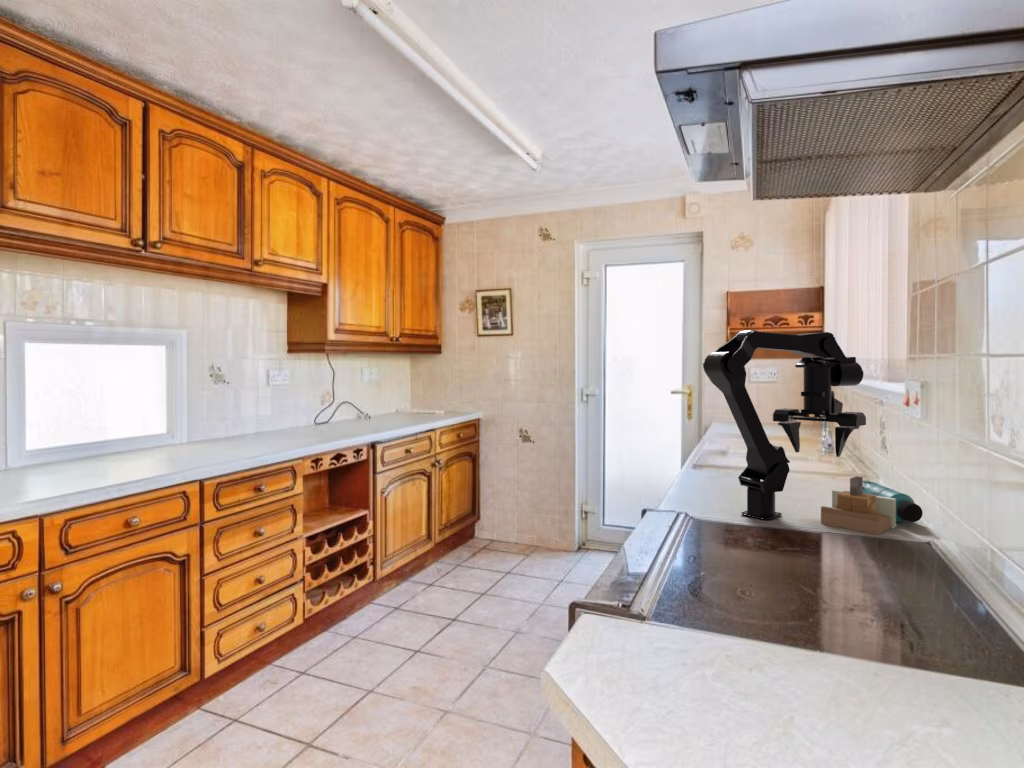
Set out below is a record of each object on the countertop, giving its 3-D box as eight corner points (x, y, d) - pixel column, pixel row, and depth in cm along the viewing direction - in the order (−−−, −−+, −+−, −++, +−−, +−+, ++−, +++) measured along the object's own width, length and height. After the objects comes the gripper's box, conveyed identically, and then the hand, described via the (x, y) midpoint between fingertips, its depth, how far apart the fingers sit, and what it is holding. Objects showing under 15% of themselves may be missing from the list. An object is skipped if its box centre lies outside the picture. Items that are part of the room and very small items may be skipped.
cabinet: (867, 517, 120) (867, 481, 120) (836, 512, 125) (836, 477, 124) (875, 514, 122) (875, 478, 122) (845, 508, 127) (845, 474, 127)
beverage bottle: (880, 490, 140) (937, 511, 120) (860, 511, 140) (915, 535, 120) (859, 472, 140) (913, 490, 120) (840, 493, 140) (891, 514, 120)
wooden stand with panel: (880, 535, 116) (880, 505, 116) (818, 522, 126) (818, 494, 126) (895, 527, 121) (896, 498, 121) (835, 516, 131) (835, 489, 131)
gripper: (876, 386, 133) (875, 455, 133) (794, 384, 147) (794, 446, 148) (855, 388, 126) (855, 460, 126) (771, 386, 141) (771, 451, 141)
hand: (817, 454), depth 136 cm, fingers open, 9 cm apart
